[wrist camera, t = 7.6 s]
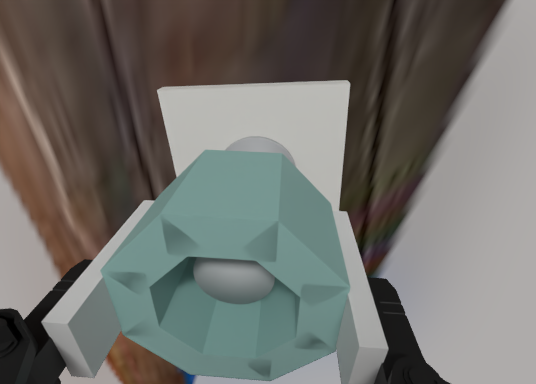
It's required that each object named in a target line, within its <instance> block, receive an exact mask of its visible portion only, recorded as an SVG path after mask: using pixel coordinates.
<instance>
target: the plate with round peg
mask: <svg viewBox="0 0 536 384" xmlns="http://www.w3.org/2000/svg"><path fill="white" fill-rule="evenodd" d="M349 91H350V83H349V82H348V81H347V80H341V81H314V82H287V83H259V84H232V85H205V86H178V87H163V88H161V89H159V90H157V92H158V96H159V101H160V105H161V110H162V114H163V119H164V123H165V127H166V132H167V136H168V141H169V145H170V150H171V154H172V158H173V163H174V167H175V172H176V176H177V177H178V176H179V175H180V174H181V173H182V172H183V171H184V170H185V169H186V168H187V167H188V166H189V165H190V164H191V163H192V162H193V161H194V160H195V159H196V158H197V157H198V156H199V155H200V154H201V153H202V152H203V151H204V150H225V151H247V152H268V153H283V154H284V155H285V156H286V157H287V159H288V160H289V161H290V162H291V163H292V164H293V165H294V166H295V167H296V168H297V169H298V170H299V171H300V172H301V173H302V174H303V175H304V176H305V177H306V178H307V179H308V180H309V181H310V182H311V183H312V184H313V185H314V186H315V187H316V189H317V190H318V191H319V192H320V193H321V194H322V195H323V196H324V197H325V198H326V199H327V200H328V201H329V202H330V203H331V206H332V211H339V202H340V191H341V180H342V169H343V158H344V147H345V135H346V124H347V113H348V102H349ZM193 273H194V278H195V280H196V282H197V284H198V286H199V287H200V288H201V289H202V290H203V291H204V292H205V293H206V294H208V295H209V296H211V297H213V298H214V299H217V300H219V301H222V302H226V303H230V304H248V303H253V302H256V301H258V300H260V299H262V298H264V297H265V296H266V295H268V293H269V292H270V291H271V290H272V288H273V286H274V282H275V276H274V275H272V274H271V273H270V272H269V271H268V270H266V269H265V268H264V267H263V266H261V265H260V264H259V263H258V262H257V261H253V260H238V259H222V258H207V257H197V259H196V261H195V264H194V267H193Z"/></svg>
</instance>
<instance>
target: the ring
mask: <svg viewBox="0 0 536 384" xmlns="http://www.w3.org/2000/svg"><path fill="white" fill-rule="evenodd" d="M197 257H207V258H222V259H238V260H253V261H257V262H258V263H259V264H260V265H261V266H263V267H264V268H265V269H266V270H268V271H269V272H270V273H271V274H272V275H274V276H275V282H274V286H273V288H272V290H271V291H270V292H269V293H268V295H266V296H265V297H264V298H262V299H260V300H258V301H256V302H253V303H248V304H230V303H226V302H222V301H219V300H217V299H214V298H213V297H211V296H209V295H208V294H206V293H205V292H204V291H203V290H202V289H201V288H200V287H199V286H198V284H197V282H196V280H195V278H194V273H193V267H194V264H195V261H196V259H197ZM100 271H101V274H102V277H103V278H104V281H105V283H106V286H107V289H108V292H109V295H110V298H111V301H112V303H113V306H114V309H115V312H116V315H117V318H118V320H119V323H120V326H121V330H122V333H123V335H124V336H126V337H128V338H129V339H131V340H133V341H134V342H136V343H138V344H139V345H141V346H143V347H145V348H146V349H148V350H150V351H151V352H153V353H155V354H156V355H158V356H160V357H162V358H163V359H165V360H167V361H168V362H170V363H172V364H173V365H175V366H177V367H179V368H180V369H182V370H184V371H185V372H187V373H189V374H190V375H202V376H214V377H226V378H238V379H250V380H263V381H272V380H274V379H276V378H278V377H280V376H283V375H285V374H287V373H289V372H291V371H293V370H296V369H298V368H300V367H302V366H304V365H307V364H309V363H311V362H313V361H316V360H318V359H320V358H322V357H324V356H326V355H329V354H331V353H333V352H335V351H336V343H337V339H338V335H339V330H340V326H341V321H342V317H343V313H344V308H345V304H346V300H347V295H348V293H349V292H350V283H349V278H348V274H347V270H346V266H345V261H344V257H343V253H342V249H341V245H340V240H339V236H338V232H337V228H336V223H335V219H334V215H333V211H332V206H331V203H330V202H329V201H328V200H327V199H326V198H325V197H324V196H323V195H322V194H321V193H320V192H319V191H318V190H317V189H316V187H315V186H314V185H313V184H312V183H311V182H310V181H309V180H308V179H307V178H306V177H305V176H304V175H303V174H302V173H301V172H300V171H299V170H298V169H297V168H296V167H295V166H294V165H293V164H292V163H291V162H290V161H289V160H288V159H287V157H286V156H285V155H284V154H283V153H268V152H247V151H225V150H204V151H203V152H202V153H201V154H200V155H199V156H198V157H197V158H196V159H195V160H194V161H193V162H192V163H191V164H190V165H189V166H188V167H187V168H186V169H185V170H184V171H183V172H182V173H181V174H180V175H179V176H178V177H177V178H176V179H175V180H174V181H173V182H172V183H171V184H170V185H169V186H168V187H167V188H166V189H165V190H164V191H163V192H162V193H161V194H160V195H159V196H158V198H157V199H156V200H155V201H154V203H153V204H152V205H151V207H150V208H149V209H148V210H147V212H146V213H145V214H144V215H143V217H142V218H141V219H140V221H139V222H138V223H137V224H136V226H135V227H134V228H133V229H132V231H131V232H130V233H129V234H128V236H127V237H126V238H125V240H124V241H123V242H122V243H121V245H120V246H119V247H118V248H117V250H116V251H115V252H114V254H113V255H112V256H111V257H110V259H109V260H108V261H107V262H106V264H105V265H104V266H103V267H102V269H101V270H100Z"/></svg>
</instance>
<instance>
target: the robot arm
mask: <svg viewBox="0 0 536 384" xmlns="http://www.w3.org/2000/svg"><path fill="white" fill-rule="evenodd" d="M153 203H154V201H148V200H144V201H143V202H142V203H141V205H140V206H139V207H138V208H137V209H136V211H135V212H134V213H133V214H132V215H131V216H130V218H129V219H128V220H127V221H126V222H125V224H124V225H123V226H122V227H121V228H120V229H119V231H118V232H117V233H116V234H115V235H114V237H113V238H112V239H111V240H110V241H109V242H108V244H107V245H106V246H105V247H104V248H103V250H102V251H101V252H100V253H99V254H98V255H97V257H96V258H95V259H94V260H86V259H84V260H83V261H81V262H80V263H78V264H77V265H75V266H74V267H72V268H71V269H70V270H69V271H68V272H67V273H66V274H65V275H64V277H63V278H62V279H61V281H60V282H58V283H57V284H56V285H55V287H54V288H53V290H52V291H50V292H49V293H48V294H47V295H46V296H45V297H44V299H43V300H42V301H41V302H40V303H39V304H38V305H37V306H36V307H35V308H34V309H33V311H32V312H31V313H30V314H29V315H28V316H27V317H26V318H25V319H24V320H23V318H22V317H21V315H20V314H19V312H18V311H17V310H14V309H0V384H61V381H60V379H59V378H58V377H59V376H60V374H61V373H62V371H63V370H64V368H65V367H67V369H68V371H69V372H70V374H71V376H77V377H88V378H94V377H95V376H96V374H97V372H98V370H99V369H100V367H101V365H102V363H103V361H104V360H105V358H106V356H107V354H108V352H109V351H110V349H111V347H112V345H113V344H114V342H115V340H116V338H117V336H118V335H119V333H120V331H121V326H120V323H119V320H118V318H117V315H116V312H115V309H114V306H113V303H112V301H111V298H110V295H109V292H108V289H107V286H106V283H105V281H104V278H103V277H102V274H101V271H100V270H101V269H102V267H103V266H104V265H105V264H106V262H107V261H108V260H109V259H110V257H111V256H112V255H113V254H114V252H115V251H116V250H117V248H118V247H119V246H120V245H121V243H122V242H123V241H124V240H125V238H126V237H127V236H128V234H129V233H130V232H131V231H132V229H133V228H134V227H135V226H136V224H137V223H138V222H139V221H140V219H141V218H142V217H143V215H144V214H145V213H146V212H147V210H148V209H149V208H150V207H151V205H152V204H153ZM333 215H334V219H335V223H336V228H337V232H338V236H339V240H340V245H341V249H342V253H343V257H344V261H345V266H346V270H347V274H348V278H349V283H350V292H349V293H348V295H347V300H346V304H345V308H344V313H343V317H342V321H341V326H340V330H339V335H338V339H337V343H336V349H337V356H338V363H339V370H340V377H341V384H450V383H448V382H446V381H445V380H443V379H442V378H441V377H440V376H439V374H438V373H437V372H436V371H435V370H434V369H433V368H432V367H431V366H430V365H428V364H427V363H426V361H425V360H424V358H423V356H422V353H421V351H420V348H419V346H418V343H417V341H416V338H415V336H414V333H413V331H412V328H411V326H410V323H409V321H408V319H407V316H405V311H404V309H403V306H402V305H401V301H400V299H399V296H398V294H397V291H396V289H395V288H394V287H393V286H392V285H391V284H390V283H389V282H388V280H387V279H382V278H367V277H366V273H365V270H364V267H363V264H362V260H361V257H360V254H359V251H358V247H357V244H356V241H355V237H354V234H353V231H352V228H351V224H350V221H349V218H348V215H347V212H343V211H333Z"/></svg>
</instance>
